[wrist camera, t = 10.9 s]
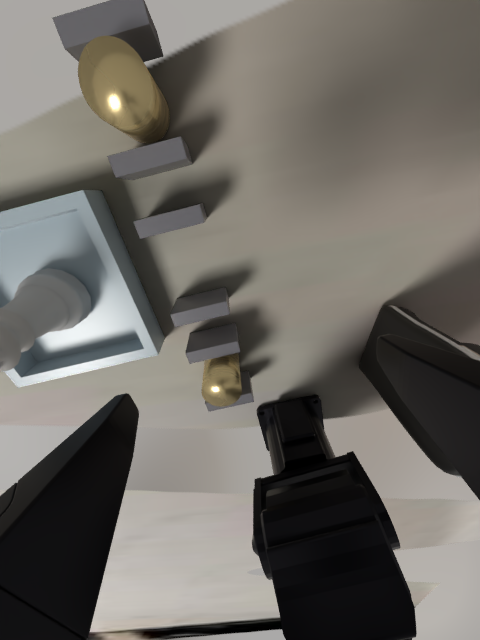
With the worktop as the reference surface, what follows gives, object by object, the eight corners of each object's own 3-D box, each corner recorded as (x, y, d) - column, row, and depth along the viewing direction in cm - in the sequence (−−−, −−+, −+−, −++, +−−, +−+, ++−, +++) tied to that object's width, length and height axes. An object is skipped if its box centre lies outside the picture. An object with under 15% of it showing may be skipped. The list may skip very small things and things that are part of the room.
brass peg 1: (176, 136, 16) (161, 117, 12) (130, 149, 16) (98, 134, 12) (158, 73, 14) (133, 25, 10) (108, 87, 14) (64, 46, 10)
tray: (164, 338, 22) (158, 354, 20) (38, 368, 22) (17, 387, 20) (101, 190, 17) (82, 189, 14) (-62, 233, 17) (-104, 239, 15)
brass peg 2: (241, 366, 24) (245, 401, 20) (210, 373, 24) (208, 410, 20) (234, 339, 22) (236, 371, 18) (201, 347, 22) (196, 380, 18)
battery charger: (391, 370, 25) (508, 492, 15) (355, 368, 25) (449, 492, 14) (421, 304, 22) (595, 401, 12) (380, 301, 22) (523, 398, 11)
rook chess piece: (98, 278, 19) (21, 331, 12) (90, 329, 20) (19, 402, 13) (31, 257, 18) (-99, 300, 11) (29, 312, 19) (-83, 381, 12)
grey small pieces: (250, 378, 24) (253, 401, 22) (210, 387, 25) (208, 411, 22) (156, 31, 14) (140, -9, 11) (85, 52, 14) (52, 17, 11)
